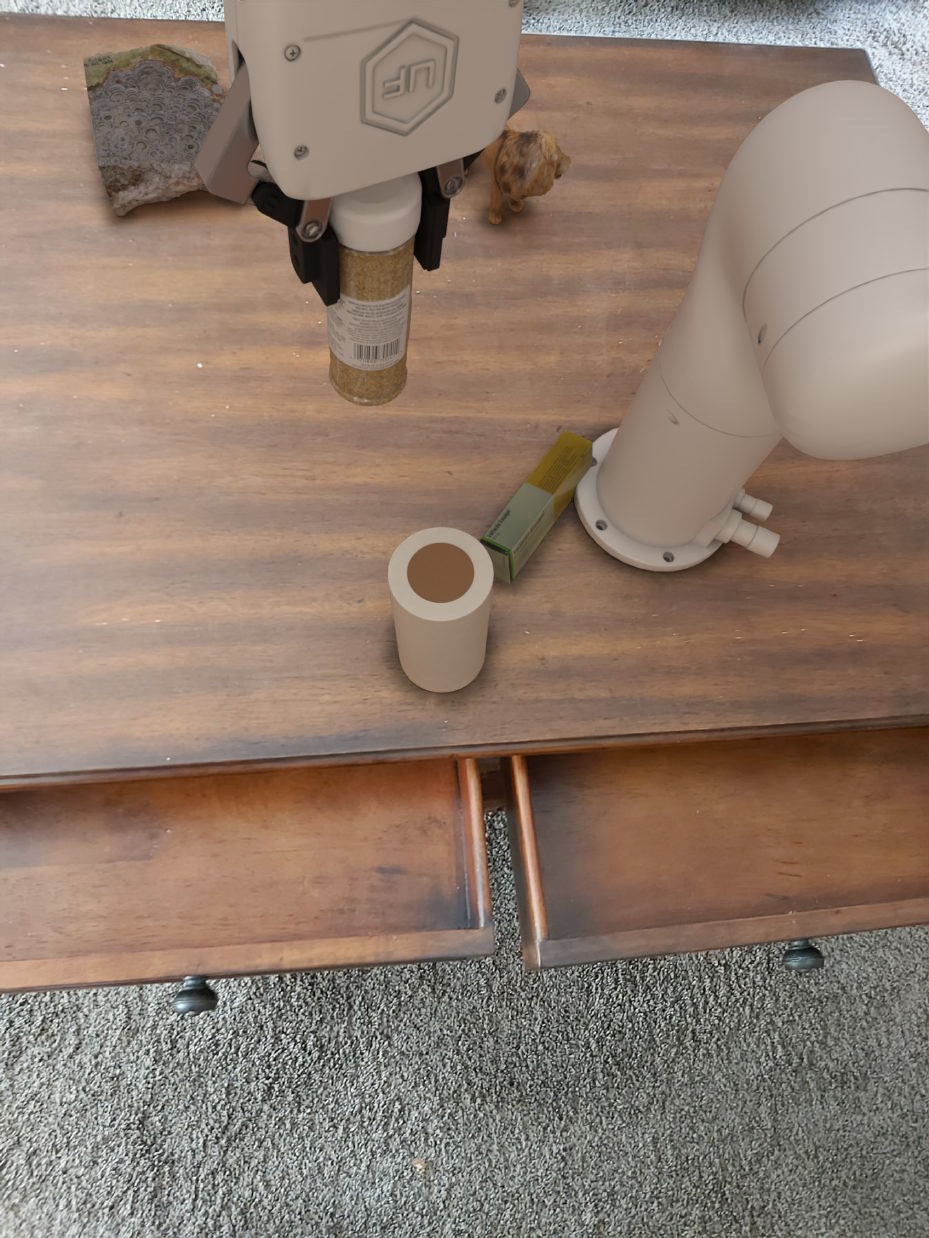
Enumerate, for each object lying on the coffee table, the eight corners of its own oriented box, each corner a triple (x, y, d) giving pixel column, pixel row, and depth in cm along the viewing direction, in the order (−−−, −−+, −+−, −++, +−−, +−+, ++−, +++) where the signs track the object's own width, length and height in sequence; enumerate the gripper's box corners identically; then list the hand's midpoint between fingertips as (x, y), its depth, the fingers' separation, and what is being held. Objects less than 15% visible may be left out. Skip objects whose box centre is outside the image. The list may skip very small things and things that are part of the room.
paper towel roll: (498, 633, 59) (510, 550, 47) (462, 707, 56) (466, 637, 45) (422, 600, 59) (416, 511, 48) (383, 671, 57) (368, 594, 46)
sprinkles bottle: (409, 349, 49) (425, 146, 37) (404, 414, 47) (420, 224, 35) (331, 341, 49) (321, 133, 36) (323, 406, 47) (310, 211, 34)
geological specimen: (98, 177, 64) (73, 34, 68) (121, 236, 70) (96, 101, 74) (239, 160, 66) (206, 22, 70) (250, 219, 71) (219, 88, 76)
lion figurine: (561, 232, 74) (586, 141, 66) (513, 254, 72) (533, 164, 64) (467, 126, 77) (479, 27, 69) (419, 144, 76) (426, 46, 68)
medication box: (511, 588, 61) (507, 557, 57) (480, 572, 62) (475, 542, 58) (593, 473, 65) (594, 439, 61) (563, 460, 66) (562, 426, 62)
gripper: (130, -92, 20) (236, 385, 37) (690, -196, 25) (556, 270, 41) (24, -263, 22) (170, 263, 39) (560, -329, 27) (482, 166, 43)
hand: (369, 263), depth 40 cm, fingers closed on sprinkles bottle, 4 cm apart
